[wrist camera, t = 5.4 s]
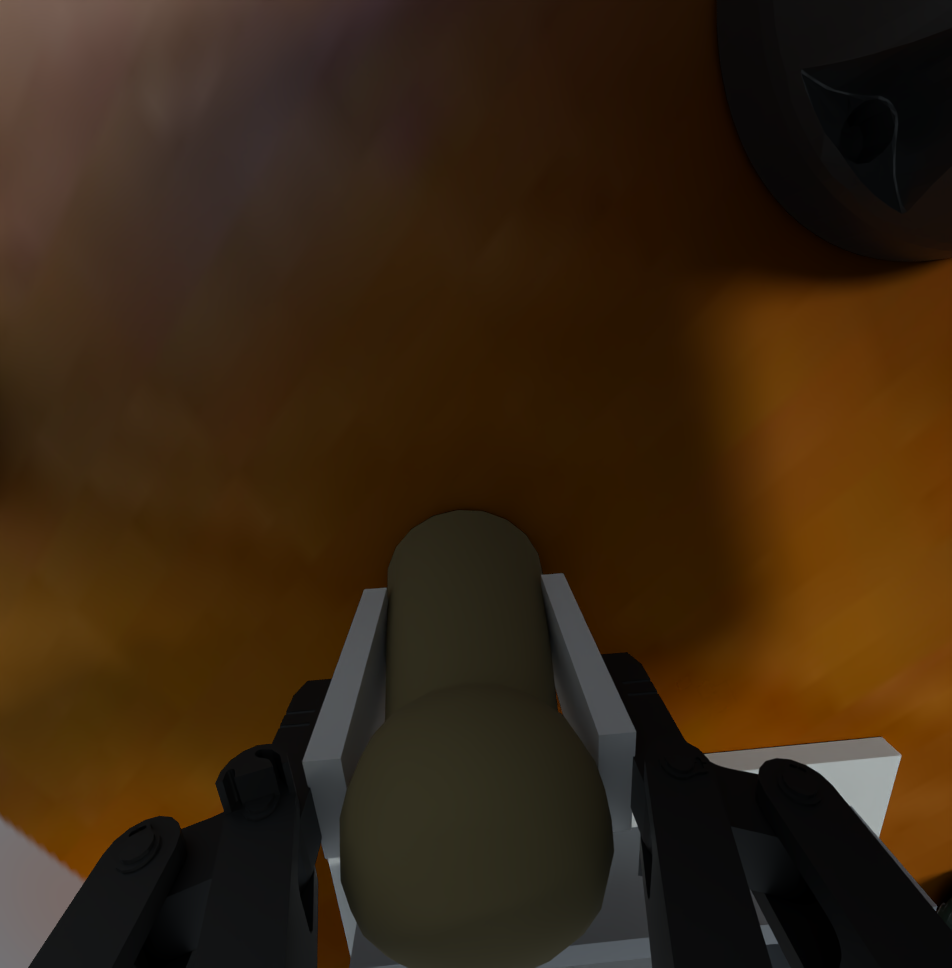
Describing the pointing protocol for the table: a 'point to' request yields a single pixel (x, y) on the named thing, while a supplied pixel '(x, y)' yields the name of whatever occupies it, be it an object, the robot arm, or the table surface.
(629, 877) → the slot well
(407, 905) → the cork
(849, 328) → the table surface
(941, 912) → the coffee jar
